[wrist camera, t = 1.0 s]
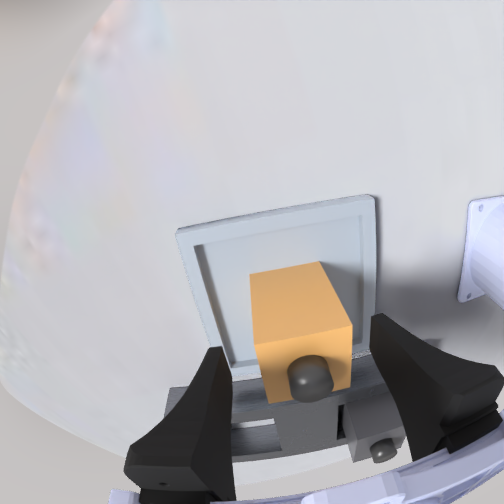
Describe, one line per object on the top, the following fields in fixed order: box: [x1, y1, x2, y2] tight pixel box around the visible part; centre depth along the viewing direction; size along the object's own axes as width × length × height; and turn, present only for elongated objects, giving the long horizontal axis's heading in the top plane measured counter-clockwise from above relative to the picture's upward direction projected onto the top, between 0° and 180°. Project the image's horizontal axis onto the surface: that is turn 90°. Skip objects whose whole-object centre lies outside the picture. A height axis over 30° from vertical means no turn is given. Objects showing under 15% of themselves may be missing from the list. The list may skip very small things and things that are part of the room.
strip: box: [164, 355, 389, 463], centre depth 21 cm, size 20×8×3 cm, turn 100°
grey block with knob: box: [338, 391, 406, 463], centre depth 19 cm, size 4×4×7 cm
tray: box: [175, 194, 376, 376], centre depth 18 cm, size 11×11×1 cm
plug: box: [249, 261, 352, 404], centre depth 14 cm, size 4×4×7 cm
